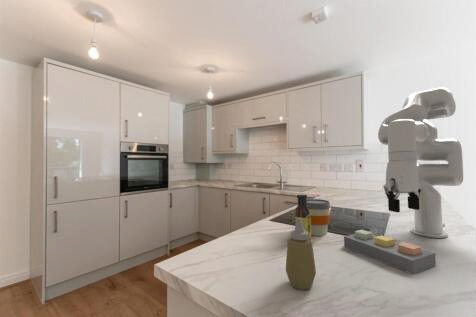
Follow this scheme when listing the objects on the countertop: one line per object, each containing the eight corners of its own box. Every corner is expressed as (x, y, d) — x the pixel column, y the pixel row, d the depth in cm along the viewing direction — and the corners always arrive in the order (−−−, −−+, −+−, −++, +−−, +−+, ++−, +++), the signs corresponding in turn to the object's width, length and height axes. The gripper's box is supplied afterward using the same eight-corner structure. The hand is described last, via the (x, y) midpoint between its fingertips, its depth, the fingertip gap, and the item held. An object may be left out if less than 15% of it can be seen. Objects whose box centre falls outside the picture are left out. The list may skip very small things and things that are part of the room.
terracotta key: (406, 248, 74) (406, 242, 74) (421, 253, 70) (421, 246, 70) (398, 251, 72) (397, 244, 72) (413, 256, 68) (413, 249, 68)
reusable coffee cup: (333, 231, 106) (332, 200, 106) (328, 239, 95) (327, 204, 96) (306, 227, 113) (306, 198, 113) (299, 234, 102) (298, 202, 103)
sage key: (362, 235, 88) (362, 229, 88) (372, 238, 84) (372, 232, 84) (354, 236, 86) (354, 231, 86) (365, 240, 82) (364, 234, 82)
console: (365, 241, 91) (364, 232, 91) (435, 265, 69) (435, 253, 69) (344, 246, 86) (343, 236, 87) (413, 274, 64) (412, 260, 65)
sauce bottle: (312, 244, 90) (310, 195, 90) (296, 243, 91) (295, 195, 91) (310, 239, 96) (308, 193, 96) (295, 238, 97) (294, 193, 98)
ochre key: (382, 241, 81) (382, 235, 81) (395, 245, 77) (394, 239, 77) (374, 243, 79) (374, 237, 79) (386, 247, 75) (386, 241, 75)
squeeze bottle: (282, 277, 64) (280, 215, 64) (309, 276, 65) (307, 214, 65) (291, 294, 56) (289, 223, 56) (321, 291, 57) (319, 221, 57)
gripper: (406, 158, 79) (408, 206, 78) (373, 158, 72) (374, 210, 72) (431, 157, 72) (433, 210, 71) (396, 157, 65) (398, 215, 65)
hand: (404, 210), depth 71 cm, fingers open, 9 cm apart
